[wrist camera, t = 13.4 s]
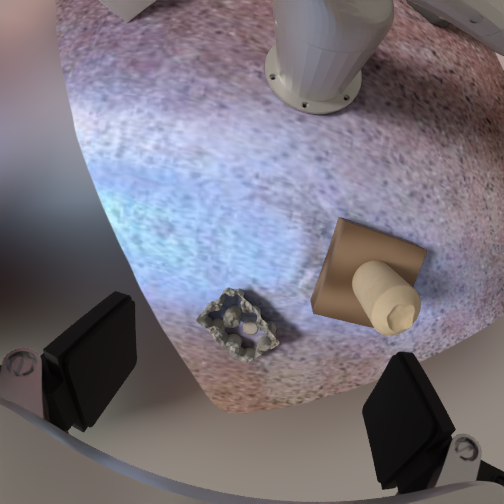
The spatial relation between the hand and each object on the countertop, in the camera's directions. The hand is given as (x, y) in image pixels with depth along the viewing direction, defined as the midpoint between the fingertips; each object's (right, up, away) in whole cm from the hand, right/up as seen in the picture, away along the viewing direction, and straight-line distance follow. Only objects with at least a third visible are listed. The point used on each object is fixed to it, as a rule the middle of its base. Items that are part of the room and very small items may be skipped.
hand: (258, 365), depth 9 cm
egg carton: (-2, -6, +31) cm, 32 cm away
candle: (+15, 0, +23) cm, 27 cm away
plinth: (+15, +1, +27) cm, 31 cm away
